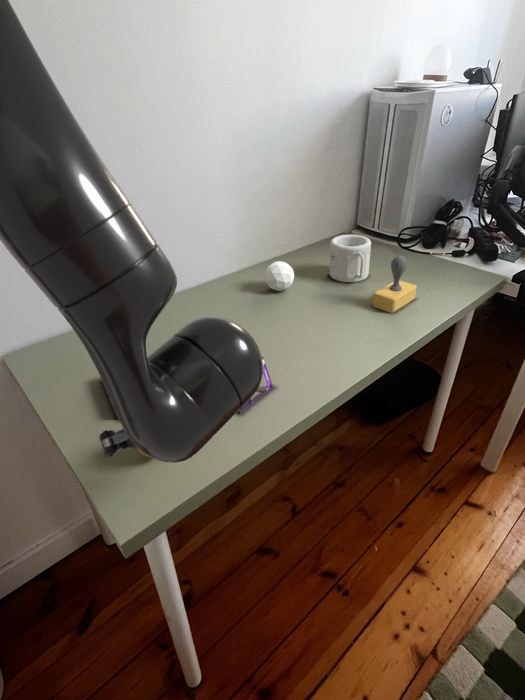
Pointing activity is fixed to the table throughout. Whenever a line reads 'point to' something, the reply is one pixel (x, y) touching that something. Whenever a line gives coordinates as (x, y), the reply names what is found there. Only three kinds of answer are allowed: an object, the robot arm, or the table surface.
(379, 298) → the rubber stamp
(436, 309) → the table surface
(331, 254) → the mug
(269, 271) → the geometric ball
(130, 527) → the table surface
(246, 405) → the purple toy
